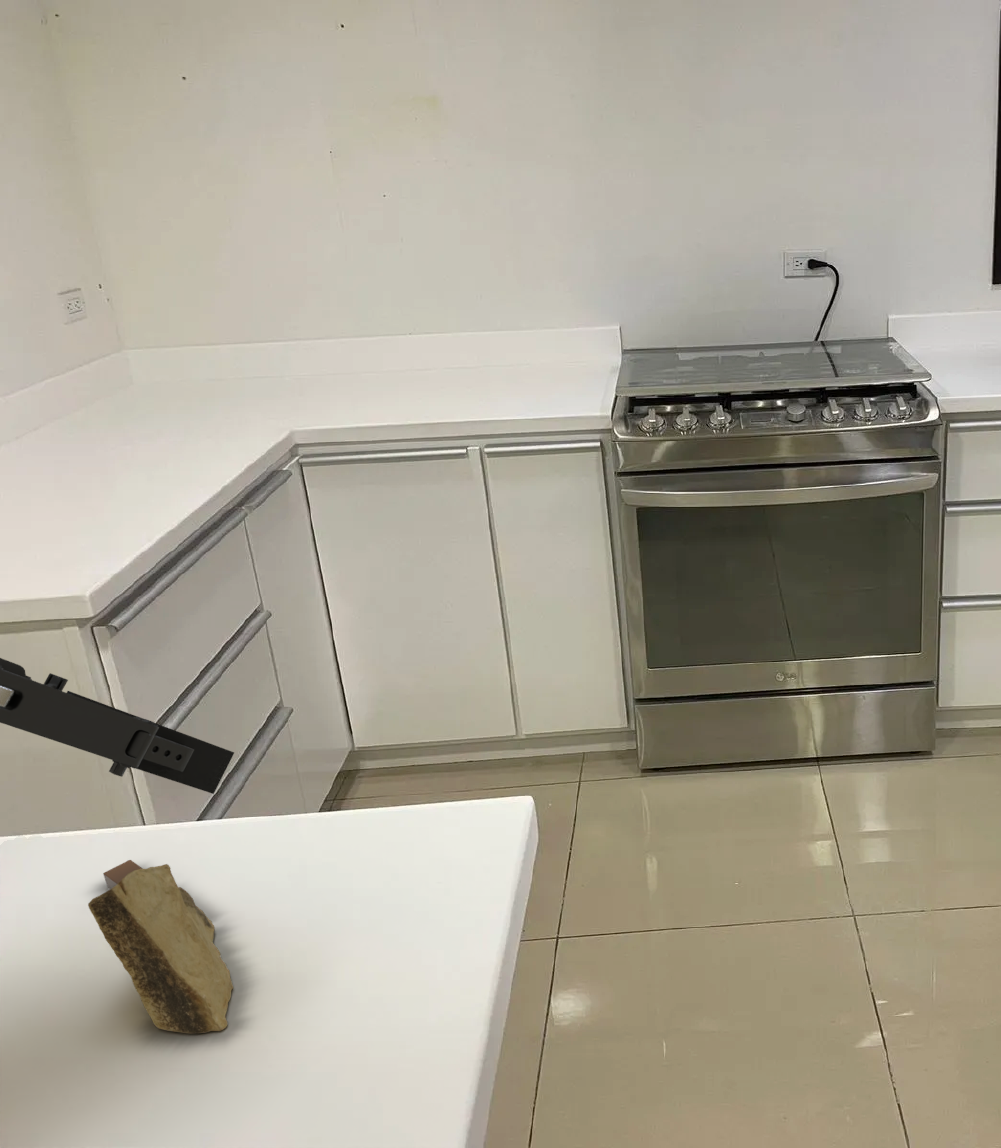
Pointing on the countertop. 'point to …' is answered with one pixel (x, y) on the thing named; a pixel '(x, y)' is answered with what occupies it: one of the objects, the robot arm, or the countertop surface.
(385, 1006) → the countertop surface
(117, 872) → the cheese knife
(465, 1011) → the countertop surface
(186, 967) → the rock
